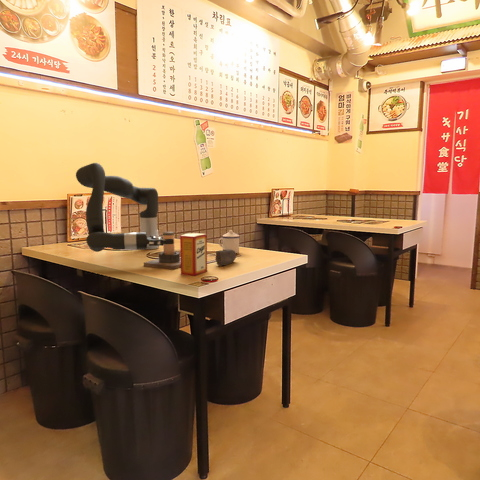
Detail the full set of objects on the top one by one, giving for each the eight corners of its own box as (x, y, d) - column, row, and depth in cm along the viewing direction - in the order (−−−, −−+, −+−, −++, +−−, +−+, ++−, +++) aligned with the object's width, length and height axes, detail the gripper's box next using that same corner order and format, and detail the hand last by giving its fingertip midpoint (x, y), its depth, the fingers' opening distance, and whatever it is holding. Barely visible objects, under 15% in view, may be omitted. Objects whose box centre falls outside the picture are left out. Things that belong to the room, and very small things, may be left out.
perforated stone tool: (230, 260, 187) (230, 246, 186) (240, 262, 184) (240, 247, 183) (211, 266, 174) (211, 250, 173) (221, 267, 172) (221, 252, 171)
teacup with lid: (242, 252, 209) (242, 230, 207) (233, 254, 201) (233, 232, 200) (223, 250, 215) (223, 228, 214) (214, 252, 208) (214, 230, 206)
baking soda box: (193, 269, 168) (193, 232, 166) (207, 271, 165) (206, 232, 163) (181, 274, 160) (180, 234, 157) (194, 275, 157) (194, 235, 154)
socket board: (166, 259, 189) (166, 249, 188) (194, 262, 181) (194, 252, 181) (143, 265, 175) (143, 254, 174) (172, 269, 168) (172, 258, 167)
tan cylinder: (168, 259, 181) (167, 231, 179) (177, 260, 179) (176, 232, 177) (161, 261, 177) (160, 232, 175) (170, 262, 175) (169, 233, 173)
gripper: (134, 234, 166) (173, 233, 170) (136, 230, 180) (172, 229, 183) (135, 252, 167) (174, 251, 171) (136, 246, 181) (172, 245, 184)
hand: (173, 239), depth 177 cm, fingers open, 8 cm apart
